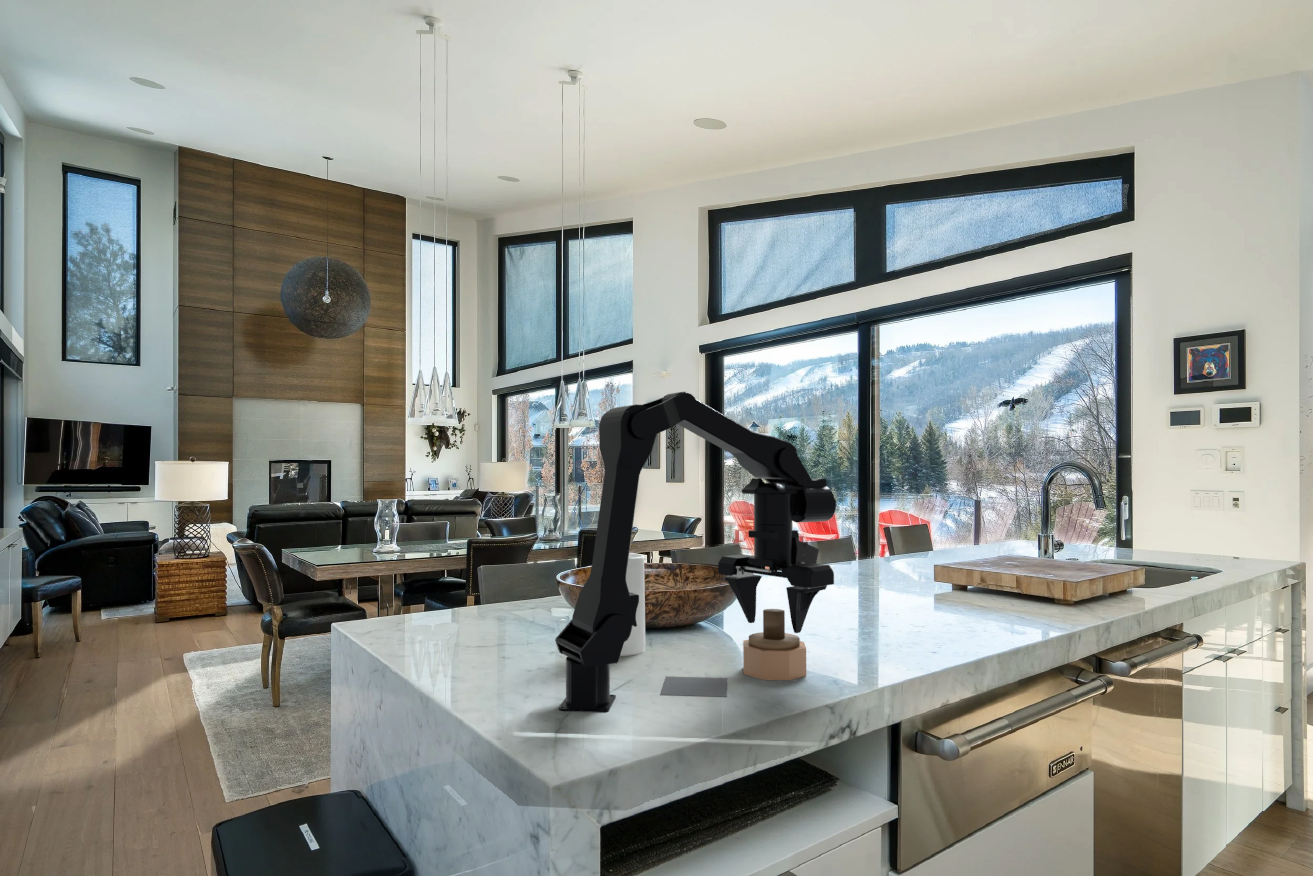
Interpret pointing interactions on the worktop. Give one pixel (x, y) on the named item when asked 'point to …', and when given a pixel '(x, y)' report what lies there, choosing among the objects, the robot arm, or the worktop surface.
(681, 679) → the mat
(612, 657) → the robot arm
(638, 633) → the cup
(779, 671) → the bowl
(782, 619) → the lid
